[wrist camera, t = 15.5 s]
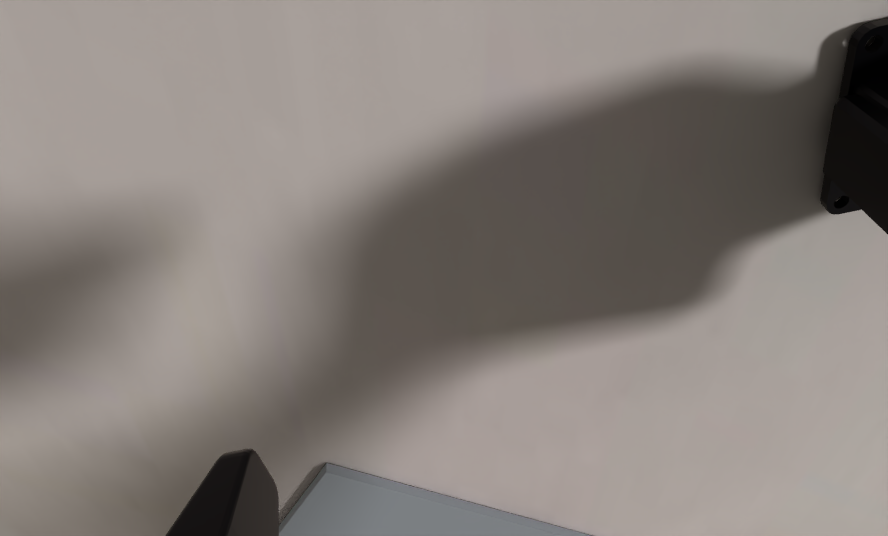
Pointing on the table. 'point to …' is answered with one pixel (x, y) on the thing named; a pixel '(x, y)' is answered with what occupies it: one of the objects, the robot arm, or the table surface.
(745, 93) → the table surface
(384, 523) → the rubber mat
